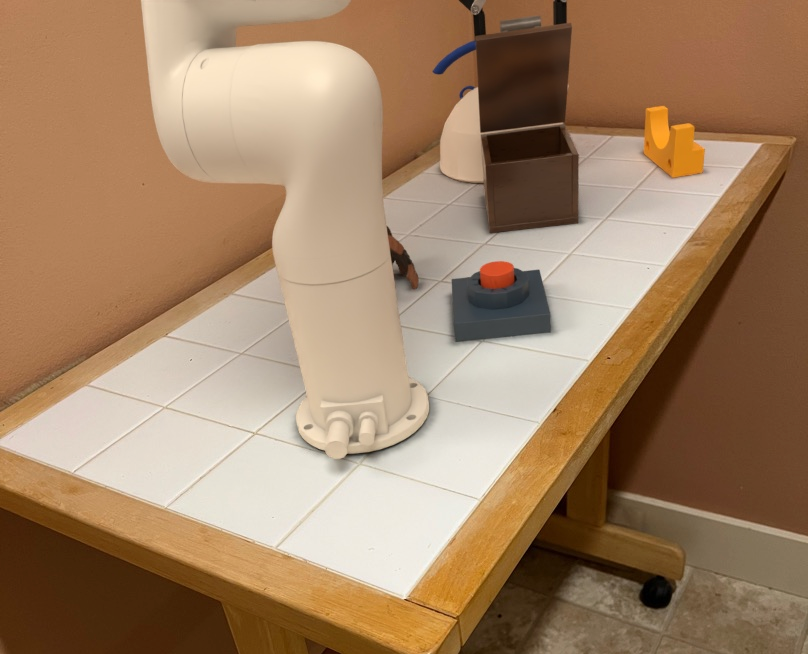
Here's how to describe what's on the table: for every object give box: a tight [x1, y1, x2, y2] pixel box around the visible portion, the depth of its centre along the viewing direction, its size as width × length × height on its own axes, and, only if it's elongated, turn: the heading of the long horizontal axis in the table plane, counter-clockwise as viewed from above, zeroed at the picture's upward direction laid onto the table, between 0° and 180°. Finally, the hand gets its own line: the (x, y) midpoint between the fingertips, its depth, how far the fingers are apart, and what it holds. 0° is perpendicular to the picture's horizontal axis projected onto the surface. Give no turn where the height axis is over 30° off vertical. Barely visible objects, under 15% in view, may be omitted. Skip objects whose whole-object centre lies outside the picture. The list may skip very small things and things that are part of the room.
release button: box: [479, 260, 515, 289], centre depth 87 cm, size 4×4×2 cm
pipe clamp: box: [643, 105, 706, 179], centre depth 117 cm, size 12×4×6 cm, turn 6°
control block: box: [451, 267, 552, 343], centre depth 88 cm, size 11×10×4 cm
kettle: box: [432, 39, 570, 184], centre depth 124 cm, size 20×21×18 cm
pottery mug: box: [386, 224, 419, 290], centre depth 98 cm, size 12×10×8 cm
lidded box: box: [481, 123, 580, 234], centre depth 109 cm, size 14×12×9 cm
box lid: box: [474, 14, 573, 133], centre depth 106 cm, size 14×12×5 cm
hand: (520, 42), depth 103 cm, fingers open, 9 cm apart
